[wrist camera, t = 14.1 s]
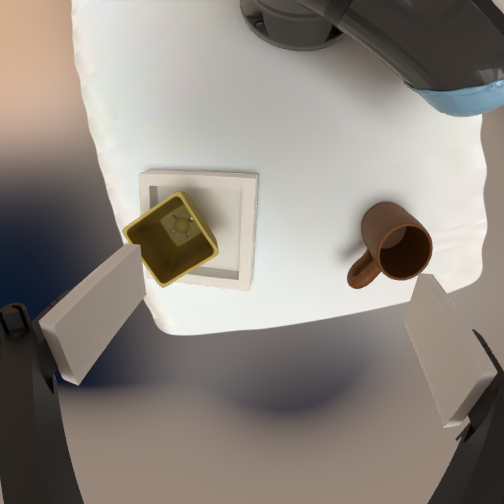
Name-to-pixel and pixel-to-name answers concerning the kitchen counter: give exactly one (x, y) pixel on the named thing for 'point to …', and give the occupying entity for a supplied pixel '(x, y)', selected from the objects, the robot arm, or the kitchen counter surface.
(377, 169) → the kitchen counter surface
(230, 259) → the white square tray
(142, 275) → the robot arm
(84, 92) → the kitchen counter surface
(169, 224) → the flower pot
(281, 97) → the kitchen counter surface
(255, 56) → the kitchen counter surface
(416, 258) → the mug
